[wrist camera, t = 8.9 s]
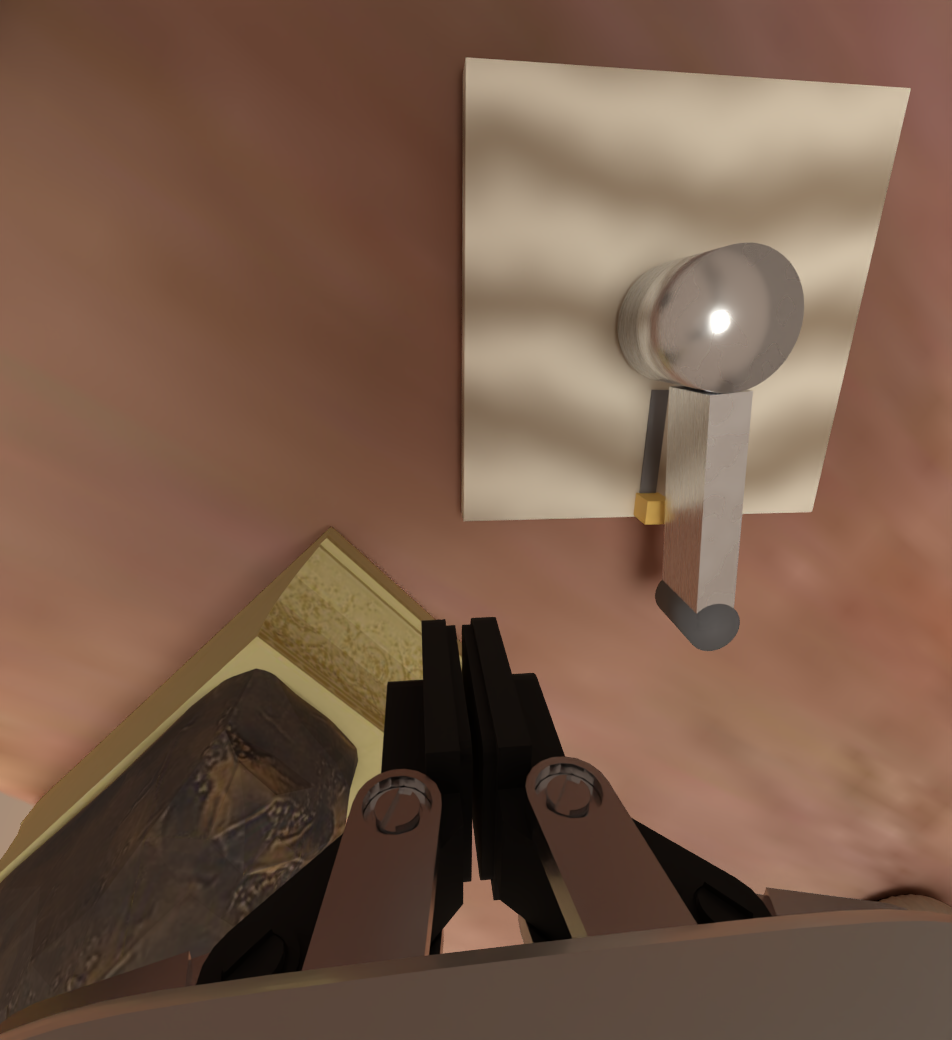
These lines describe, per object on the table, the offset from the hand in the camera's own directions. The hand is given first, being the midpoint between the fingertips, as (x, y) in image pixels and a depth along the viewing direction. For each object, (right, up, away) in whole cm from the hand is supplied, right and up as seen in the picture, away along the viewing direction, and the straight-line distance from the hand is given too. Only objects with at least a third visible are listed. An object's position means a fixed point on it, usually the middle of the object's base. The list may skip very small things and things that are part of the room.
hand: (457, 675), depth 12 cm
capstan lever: (+11, +8, +19) cm, 23 cm away
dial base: (+11, +15, +18) cm, 26 cm away
